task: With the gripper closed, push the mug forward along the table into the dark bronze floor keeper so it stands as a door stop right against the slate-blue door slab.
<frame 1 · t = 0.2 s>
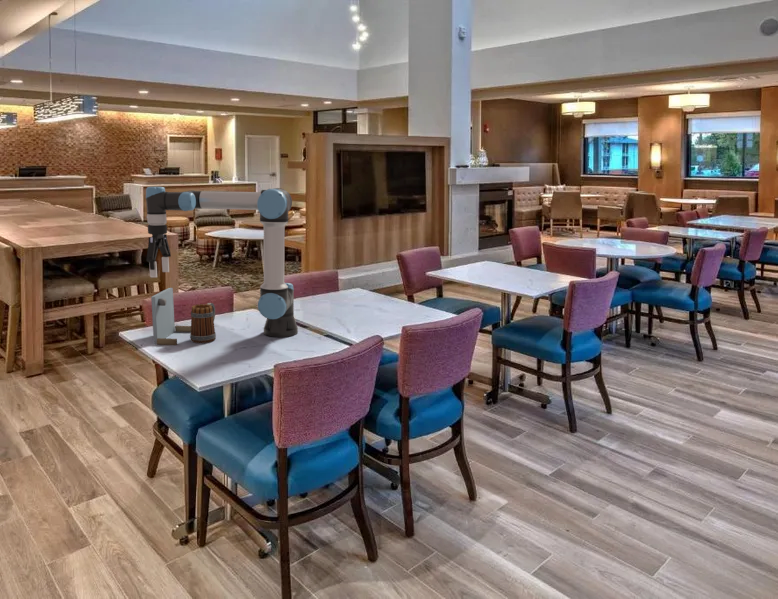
hand: (159, 274, 265), 28 cm above the table, fingers open, 13 cm apart
door: (164, 337, 271), on the table
mug: (206, 339, 271), on the table
keeper: (176, 337, 271), on the table
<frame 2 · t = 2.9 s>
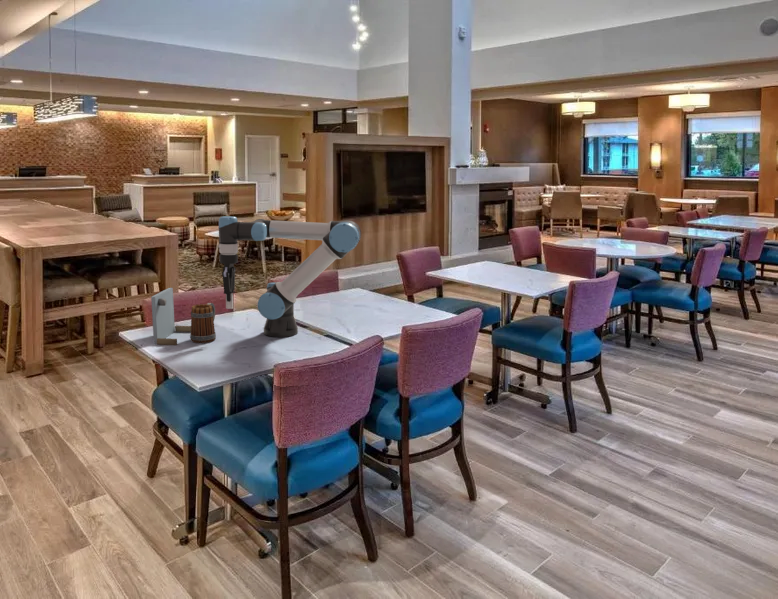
hand: (229, 308, 268), 14 cm above the table, fingers closed
nothing on the table moved.
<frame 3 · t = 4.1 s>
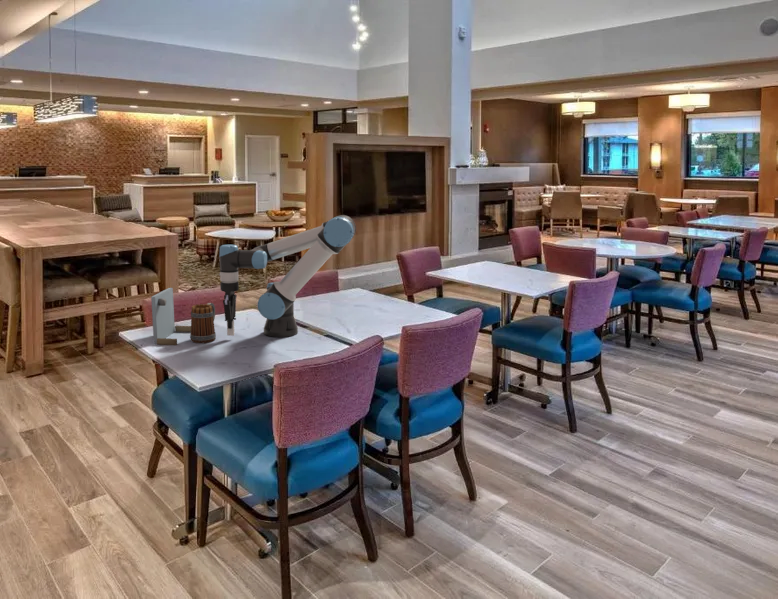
hand: (230, 335, 270), 2 cm above the table, fingers closed
nothing on the table moved.
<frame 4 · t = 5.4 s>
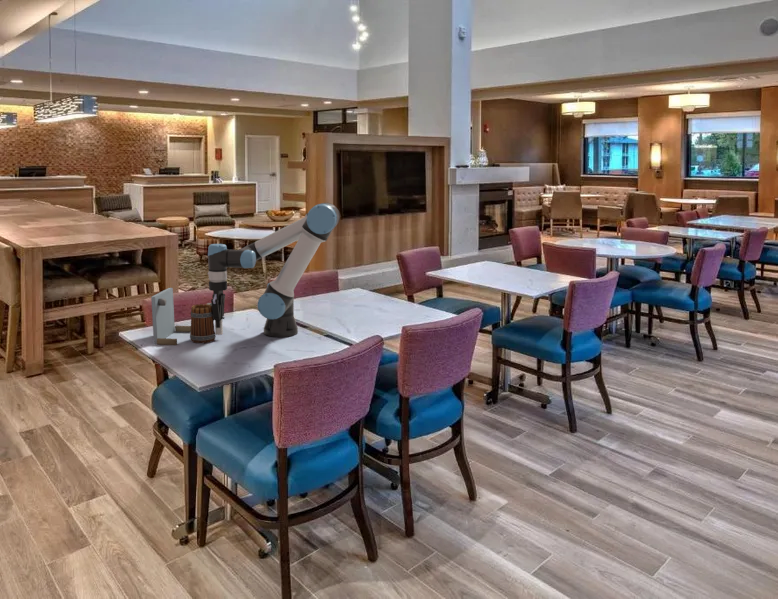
hand: (219, 334, 271), 2 cm above the table, fingers closed
mug: (205, 339, 271), on the table, touching gripper
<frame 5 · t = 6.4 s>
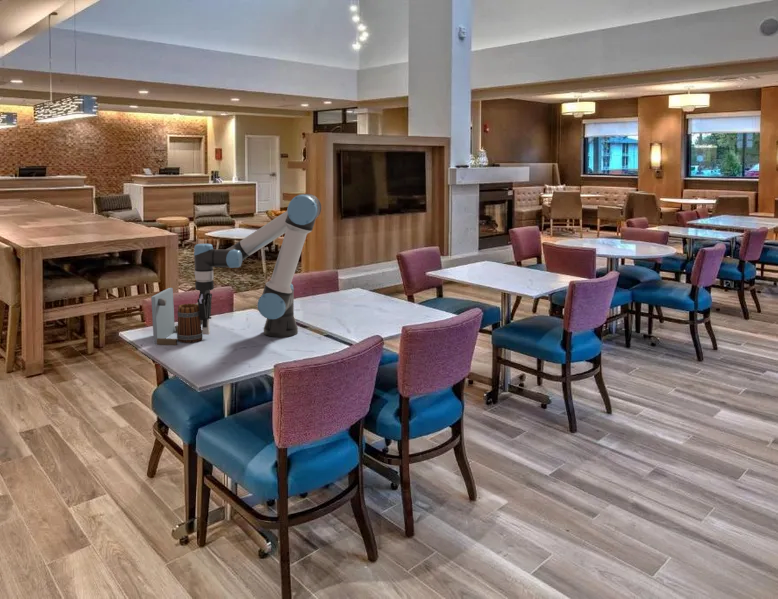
hand: (206, 334, 271), 2 cm above the table, fingers closed
mug: (193, 338, 271), on the table, touching gripper
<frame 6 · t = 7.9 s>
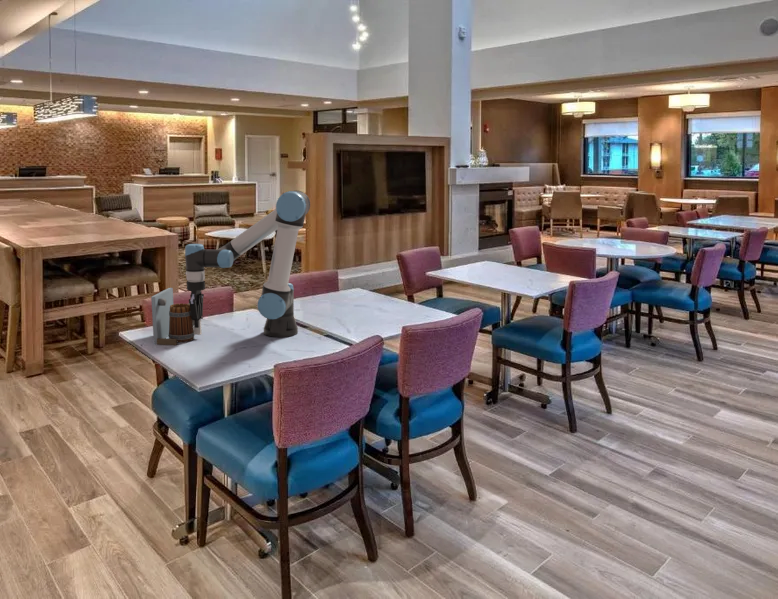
hand: (197, 334, 271), 2 cm above the table, fingers closed
mug: (185, 338, 271), on the table, touching gripper
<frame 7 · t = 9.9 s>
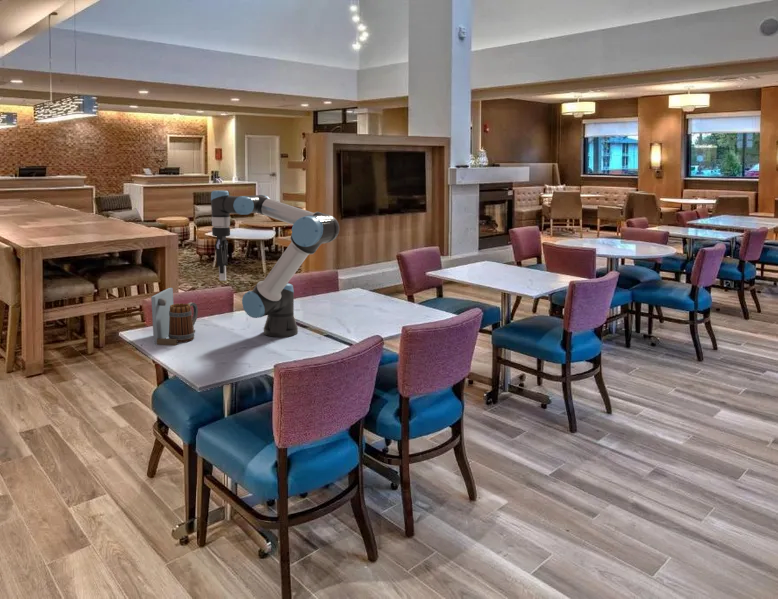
hand: (222, 280, 276), 24 cm above the table, fingers closed
mug: (185, 338, 271), on the table
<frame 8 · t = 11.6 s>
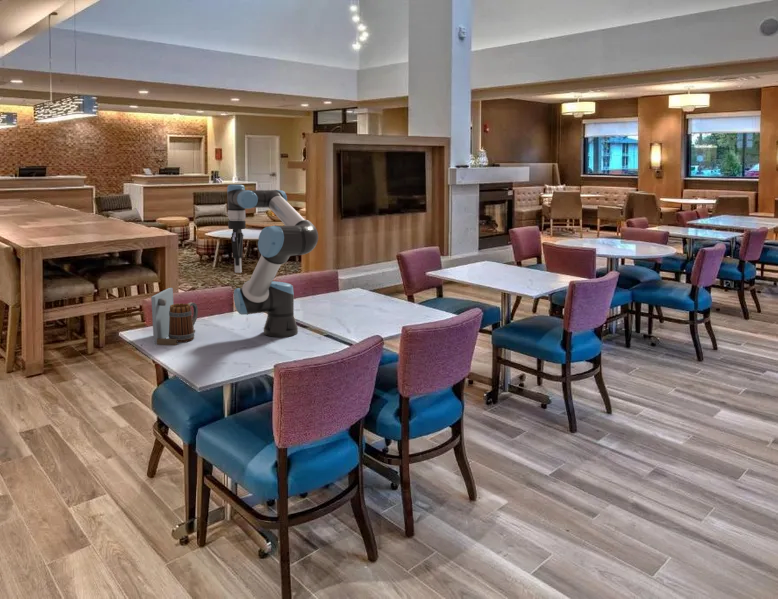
hand: (238, 272, 283), 26 cm above the table, fingers closed
nothing on the table moved.
at the end: mug inside the target area (2.9 cm from its centre), on the table; mug tilted 0°; mug moved 8.9 cm from its start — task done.
